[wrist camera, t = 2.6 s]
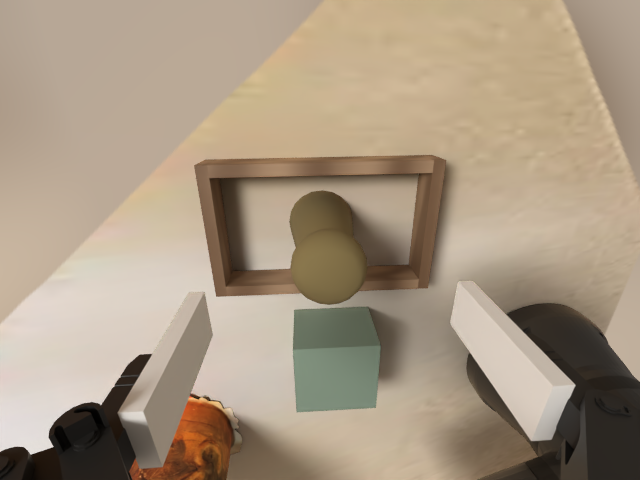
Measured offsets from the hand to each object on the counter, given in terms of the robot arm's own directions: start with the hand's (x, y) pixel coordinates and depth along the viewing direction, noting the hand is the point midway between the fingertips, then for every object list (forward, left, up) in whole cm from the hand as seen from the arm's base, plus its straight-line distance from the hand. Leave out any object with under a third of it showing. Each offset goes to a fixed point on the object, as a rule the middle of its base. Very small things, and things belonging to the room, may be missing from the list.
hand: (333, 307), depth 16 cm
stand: (-1, +14, -14) cm, 20 cm away
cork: (0, 0, -15) cm, 15 cm away
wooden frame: (0, 0, -14) cm, 14 cm away
